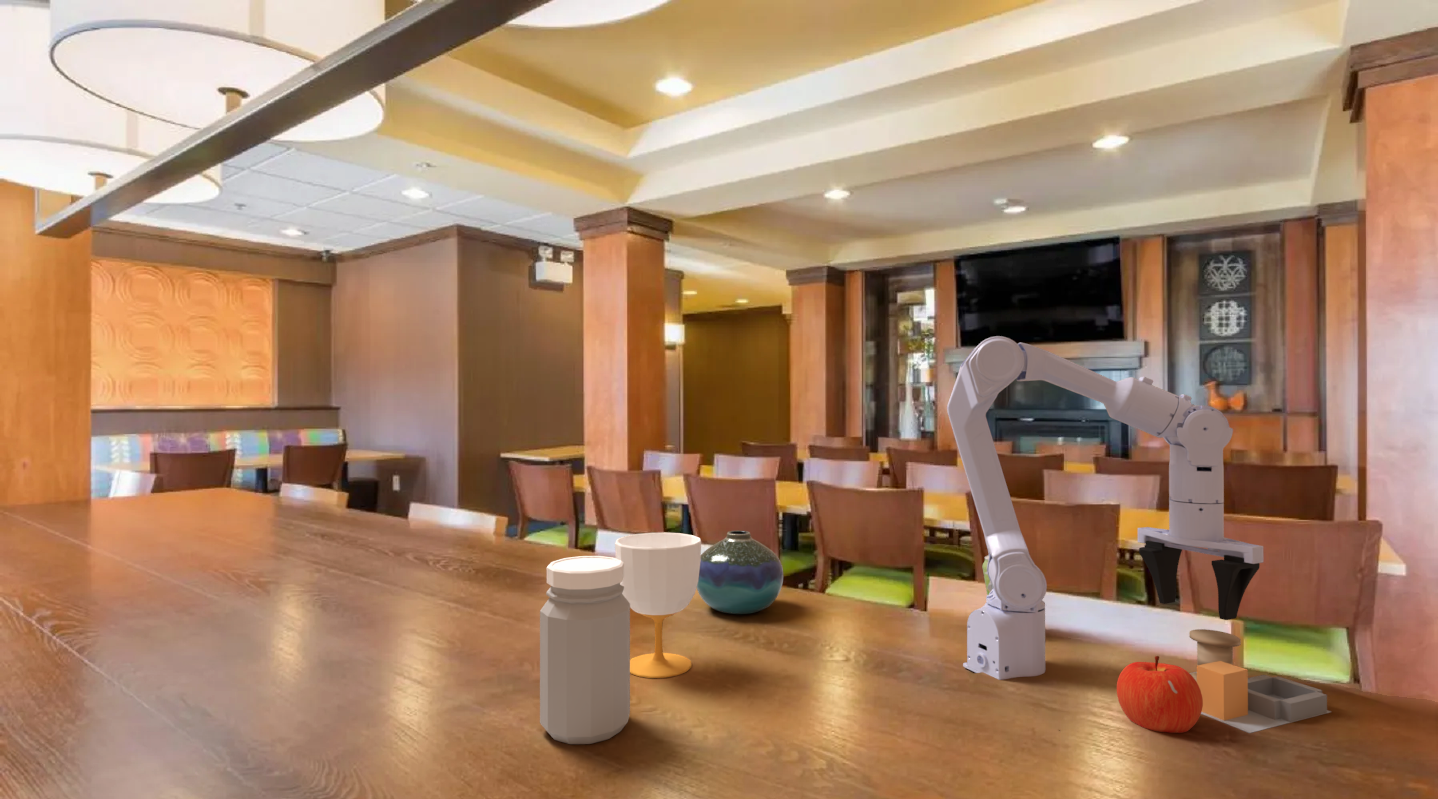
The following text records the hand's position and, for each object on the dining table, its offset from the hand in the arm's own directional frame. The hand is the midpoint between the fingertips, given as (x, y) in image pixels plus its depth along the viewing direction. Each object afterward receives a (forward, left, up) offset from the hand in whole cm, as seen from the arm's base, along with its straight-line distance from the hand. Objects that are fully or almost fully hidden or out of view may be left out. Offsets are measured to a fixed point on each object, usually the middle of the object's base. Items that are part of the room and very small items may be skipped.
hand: (1196, 610), depth 91 cm
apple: (-15, -6, -10) cm, 19 cm away
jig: (-2, -5, -10) cm, 11 cm away
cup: (-60, +33, -10) cm, 69 cm away
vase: (-39, +54, -10) cm, 67 cm away
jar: (-73, +18, -10) cm, 76 cm away
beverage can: (-5, +27, -10) cm, 29 cm away
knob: (+1, -2, -10) cm, 10 cm away
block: (-6, -7, -9) cm, 13 cm away
